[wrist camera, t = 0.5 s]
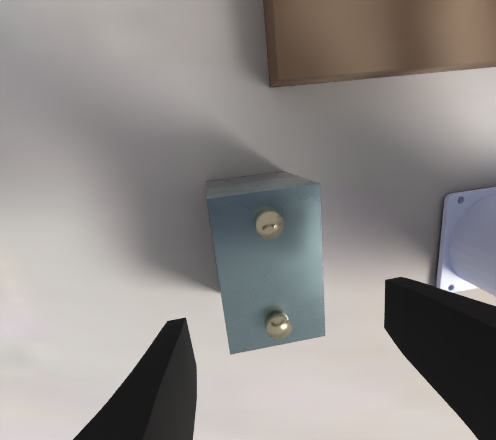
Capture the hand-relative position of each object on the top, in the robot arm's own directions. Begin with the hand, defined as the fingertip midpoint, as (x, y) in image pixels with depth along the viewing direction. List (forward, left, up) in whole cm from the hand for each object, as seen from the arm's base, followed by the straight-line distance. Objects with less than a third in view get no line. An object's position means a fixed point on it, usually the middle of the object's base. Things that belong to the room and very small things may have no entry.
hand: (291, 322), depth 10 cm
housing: (0, 0, -10) cm, 10 cm away
